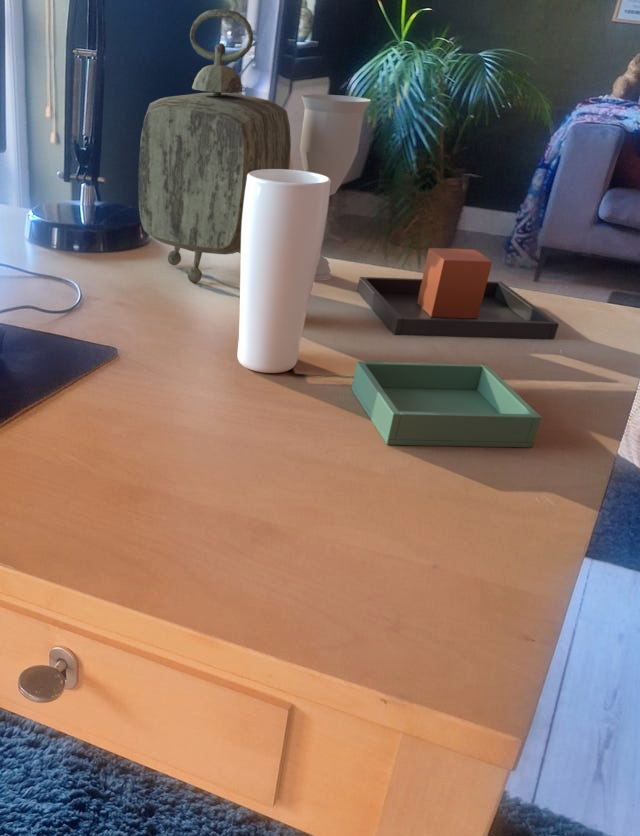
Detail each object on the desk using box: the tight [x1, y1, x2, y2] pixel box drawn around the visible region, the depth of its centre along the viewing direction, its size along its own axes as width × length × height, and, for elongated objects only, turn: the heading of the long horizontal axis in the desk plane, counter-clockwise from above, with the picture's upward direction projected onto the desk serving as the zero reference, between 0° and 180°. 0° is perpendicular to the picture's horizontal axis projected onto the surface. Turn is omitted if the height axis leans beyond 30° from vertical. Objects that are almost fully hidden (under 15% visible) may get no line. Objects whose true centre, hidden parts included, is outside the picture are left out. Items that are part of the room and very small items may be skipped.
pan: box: [356, 276, 559, 341], centre depth 91 cm, size 16×15×2 cm
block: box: [417, 247, 493, 318], centre depth 91 cm, size 5×5×6 cm
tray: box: [351, 360, 542, 448], centre depth 69 cm, size 11×11×2 cm
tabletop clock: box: [137, 8, 292, 284], centre depth 92 cm, size 14×9×25 cm, turn 59°
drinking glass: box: [236, 169, 331, 374], centre depth 73 cm, size 7×7×15 cm
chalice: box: [299, 93, 372, 281], centre depth 97 cm, size 7×7×18 cm
